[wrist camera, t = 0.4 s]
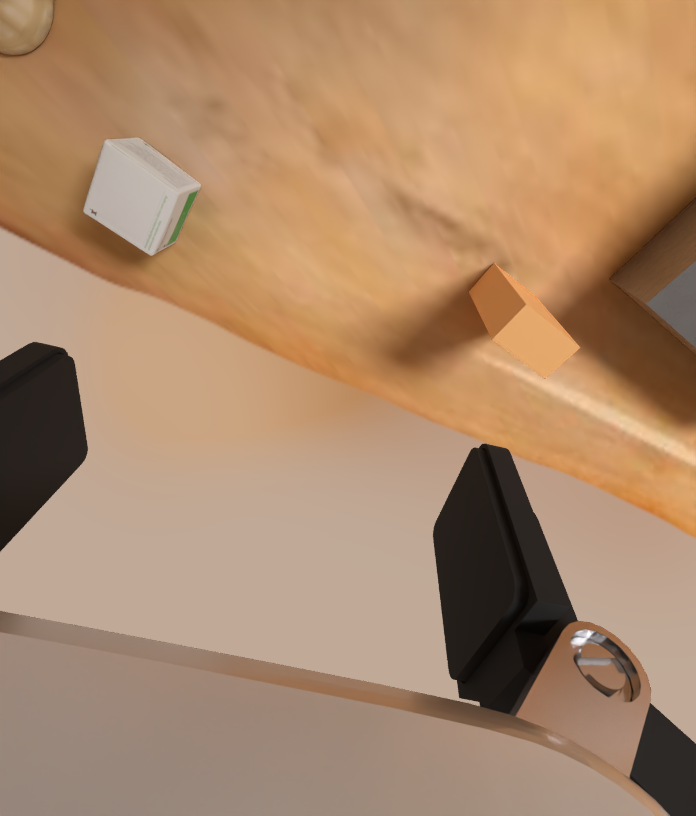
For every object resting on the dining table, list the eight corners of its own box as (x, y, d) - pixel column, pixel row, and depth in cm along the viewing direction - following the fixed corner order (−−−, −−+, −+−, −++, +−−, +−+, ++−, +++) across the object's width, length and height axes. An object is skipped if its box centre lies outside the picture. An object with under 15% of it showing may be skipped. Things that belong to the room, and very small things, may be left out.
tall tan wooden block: (493, 262, 35) (526, 304, 27) (536, 297, 36) (580, 347, 28) (468, 291, 37) (491, 339, 28) (510, 324, 38) (544, 379, 30)
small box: (177, 244, 37) (151, 259, 33) (114, 201, 35) (77, 210, 31) (205, 184, 34) (180, 192, 30) (137, 134, 32) (101, 135, 28)
